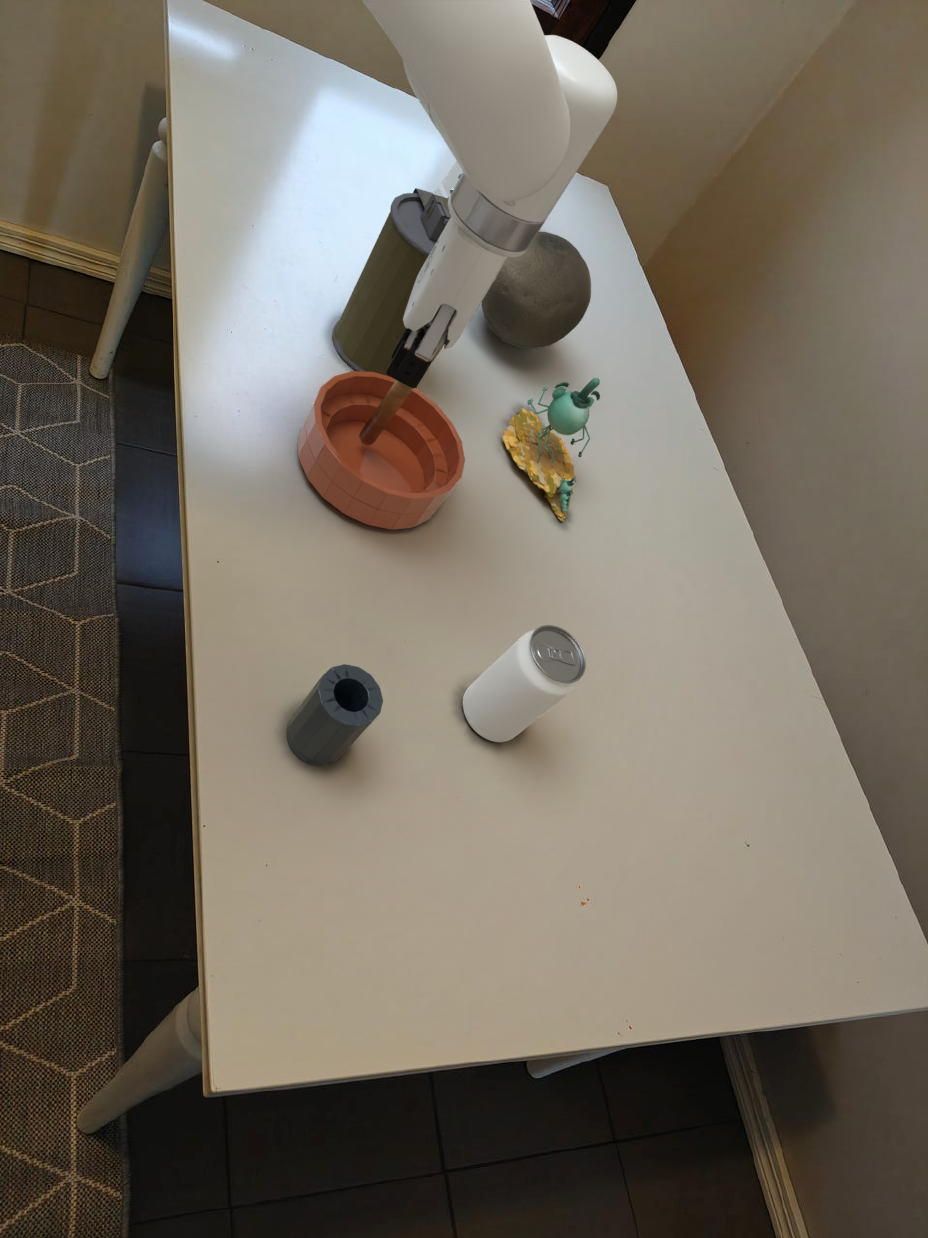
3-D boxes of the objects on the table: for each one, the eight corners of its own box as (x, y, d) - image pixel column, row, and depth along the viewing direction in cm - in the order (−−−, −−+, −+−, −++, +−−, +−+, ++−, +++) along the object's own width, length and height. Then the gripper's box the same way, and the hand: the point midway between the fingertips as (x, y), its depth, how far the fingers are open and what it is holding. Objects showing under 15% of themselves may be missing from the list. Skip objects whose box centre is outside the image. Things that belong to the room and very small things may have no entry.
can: (457, 677, 82) (521, 614, 73) (515, 687, 84) (584, 627, 76) (463, 739, 78) (531, 681, 70) (523, 748, 81) (596, 692, 72)
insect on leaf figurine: (508, 510, 98) (576, 412, 88) (485, 410, 109) (543, 313, 99) (578, 529, 102) (651, 437, 92) (549, 431, 113) (611, 339, 103)
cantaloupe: (459, 284, 117) (514, 189, 106) (547, 326, 122) (608, 240, 111) (456, 349, 109) (515, 254, 98) (550, 392, 114) (616, 305, 103)
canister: (423, 388, 102) (507, 251, 87) (343, 377, 96) (419, 228, 82) (399, 322, 106) (475, 182, 92) (321, 308, 101) (389, 155, 86)
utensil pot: (278, 753, 69) (311, 711, 63) (295, 699, 72) (328, 654, 66) (337, 775, 71) (374, 736, 65) (351, 720, 74) (388, 679, 68)
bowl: (275, 488, 83) (295, 448, 79) (317, 387, 93) (337, 346, 89) (425, 557, 88) (451, 523, 83) (449, 454, 98) (474, 418, 94)
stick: (354, 443, 89) (429, 335, 78) (358, 432, 90) (432, 324, 79) (369, 451, 90) (446, 345, 78) (373, 440, 91) (449, 334, 80)
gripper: (469, 142, 73) (384, 308, 86) (440, 233, 63) (349, 404, 76) (544, 189, 75) (449, 344, 88) (527, 284, 65) (423, 442, 79)
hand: (403, 371), depth 82 cm, fingers closed on stick, 1 cm apart
